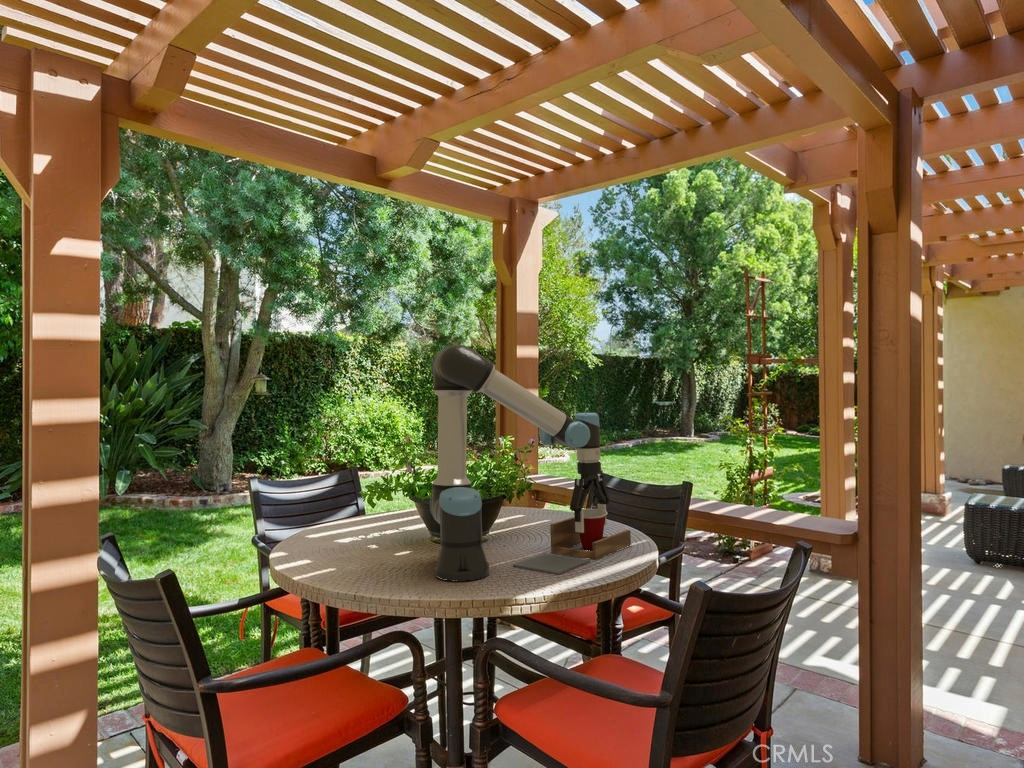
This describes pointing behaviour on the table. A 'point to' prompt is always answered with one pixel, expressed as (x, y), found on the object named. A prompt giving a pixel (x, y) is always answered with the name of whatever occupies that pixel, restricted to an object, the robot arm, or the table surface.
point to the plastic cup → (592, 527)
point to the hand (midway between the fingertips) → (591, 528)
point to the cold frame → (567, 537)
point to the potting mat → (551, 563)
